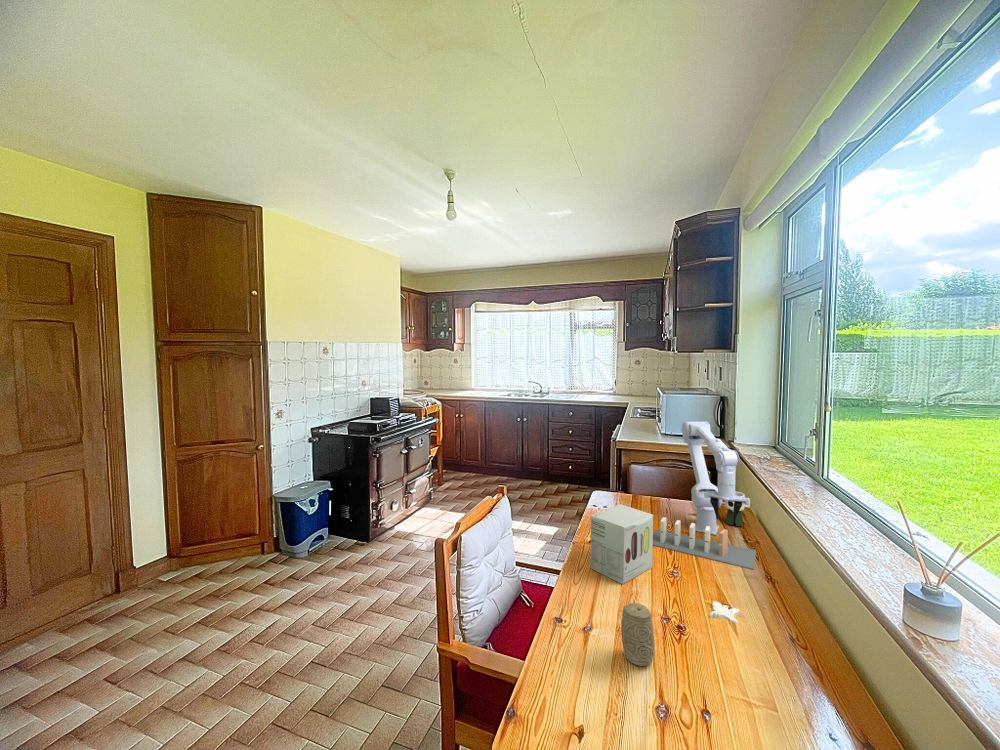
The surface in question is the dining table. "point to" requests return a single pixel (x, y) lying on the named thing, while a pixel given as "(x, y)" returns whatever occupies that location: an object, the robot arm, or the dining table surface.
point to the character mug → (731, 511)
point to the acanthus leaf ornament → (723, 612)
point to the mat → (733, 556)
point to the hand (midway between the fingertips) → (725, 519)
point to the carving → (637, 634)
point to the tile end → (723, 542)
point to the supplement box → (621, 542)
